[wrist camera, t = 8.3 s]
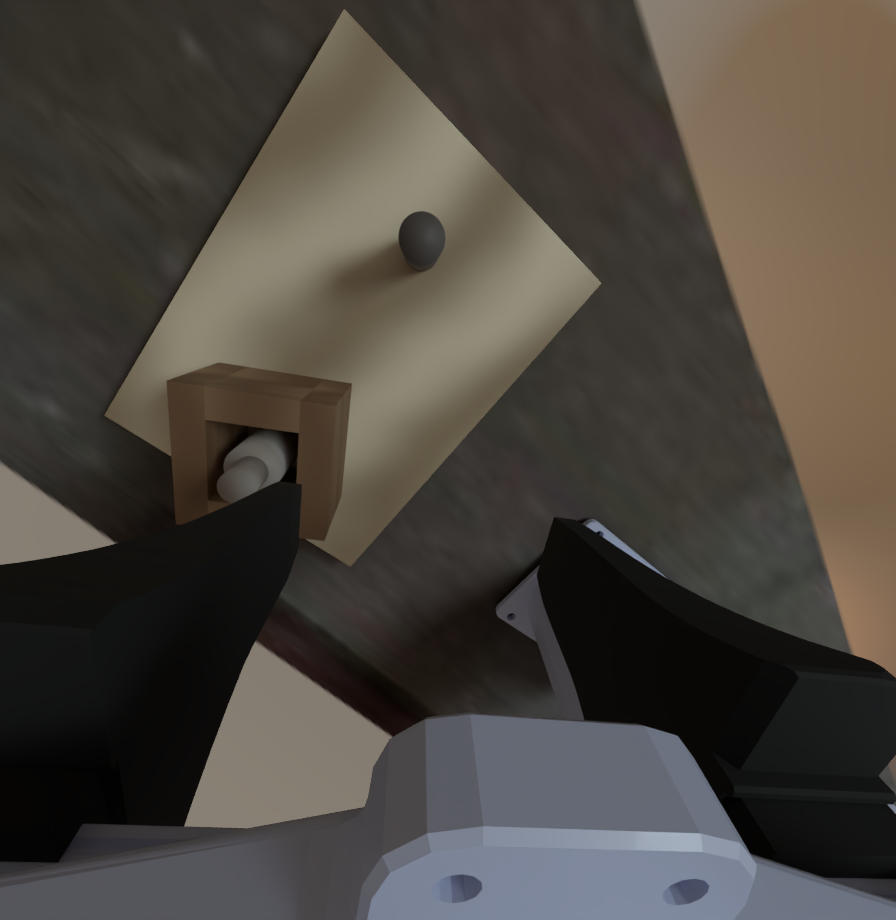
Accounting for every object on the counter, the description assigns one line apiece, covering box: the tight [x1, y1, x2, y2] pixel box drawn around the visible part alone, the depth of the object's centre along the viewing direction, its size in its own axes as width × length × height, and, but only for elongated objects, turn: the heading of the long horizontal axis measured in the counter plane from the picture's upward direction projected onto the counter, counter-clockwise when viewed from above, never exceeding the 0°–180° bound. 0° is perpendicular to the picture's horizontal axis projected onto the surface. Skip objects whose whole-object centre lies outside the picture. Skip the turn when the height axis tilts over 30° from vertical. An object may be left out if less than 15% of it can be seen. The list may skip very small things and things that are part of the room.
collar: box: [166, 362, 352, 541], centre depth 17 cm, size 6×6×4 cm
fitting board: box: [104, 9, 601, 567], centre depth 16 cm, size 13×18×6 cm
